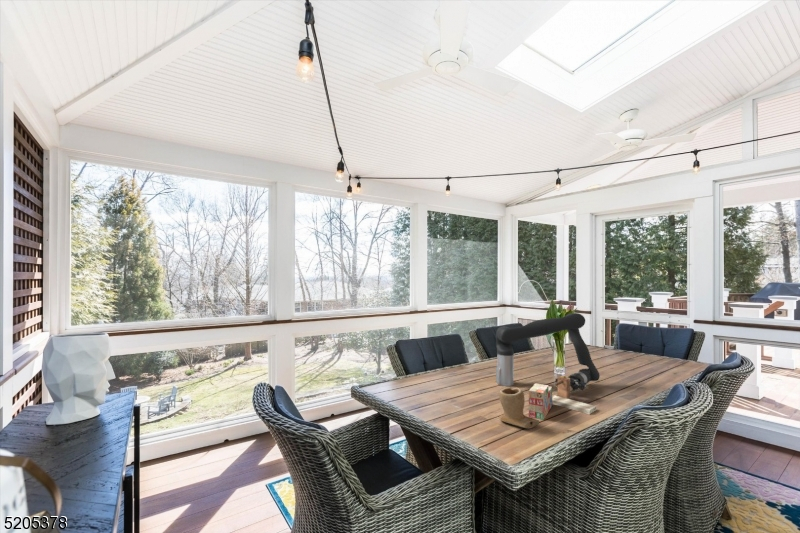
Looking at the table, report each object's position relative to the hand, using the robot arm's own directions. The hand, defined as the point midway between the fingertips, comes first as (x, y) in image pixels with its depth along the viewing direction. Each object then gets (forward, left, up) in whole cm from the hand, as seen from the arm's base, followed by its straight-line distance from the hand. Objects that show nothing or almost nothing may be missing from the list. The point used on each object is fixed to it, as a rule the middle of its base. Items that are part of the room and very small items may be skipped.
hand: (564, 386), depth 187 cm
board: (-2, -10, -7) cm, 12 cm away
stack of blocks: (-19, -16, -7) cm, 26 cm away
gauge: (-3, -3, -7) cm, 8 cm away
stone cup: (-37, -31, -7) cm, 48 cm away
